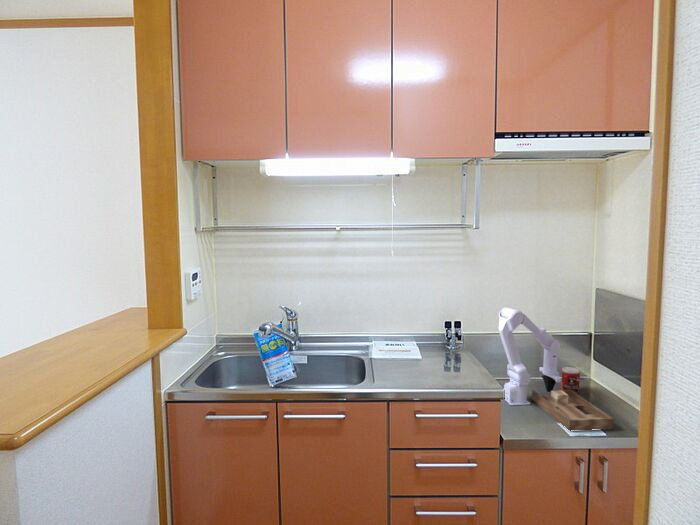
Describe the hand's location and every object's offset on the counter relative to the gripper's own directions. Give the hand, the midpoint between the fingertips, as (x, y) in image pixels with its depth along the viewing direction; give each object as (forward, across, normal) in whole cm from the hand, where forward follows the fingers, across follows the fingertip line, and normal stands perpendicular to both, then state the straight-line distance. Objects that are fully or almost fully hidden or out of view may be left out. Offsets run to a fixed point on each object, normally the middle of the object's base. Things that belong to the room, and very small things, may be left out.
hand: (549, 391), depth 188 cm
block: (+1, -8, 0) cm, 8 cm away
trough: (+3, -15, 0) cm, 15 cm away
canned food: (+3, +6, -14) cm, 16 cm away
